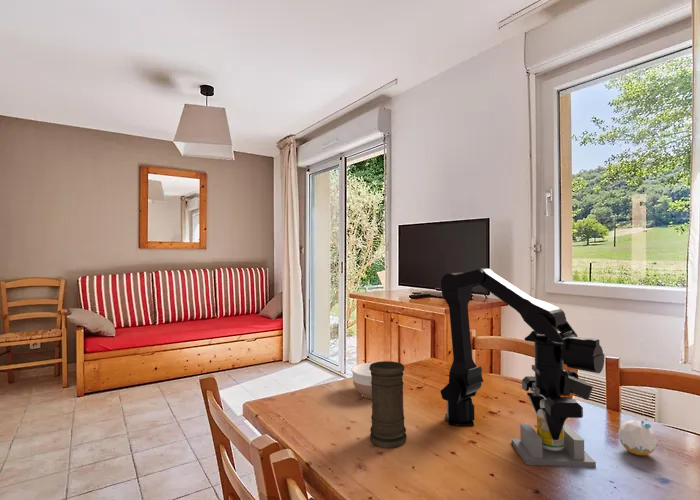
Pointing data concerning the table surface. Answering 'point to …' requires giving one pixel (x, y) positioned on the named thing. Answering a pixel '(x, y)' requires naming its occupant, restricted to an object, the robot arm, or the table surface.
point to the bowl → (363, 379)
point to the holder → (538, 455)
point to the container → (387, 404)
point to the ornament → (637, 437)
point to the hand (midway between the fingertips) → (550, 433)
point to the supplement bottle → (548, 432)
